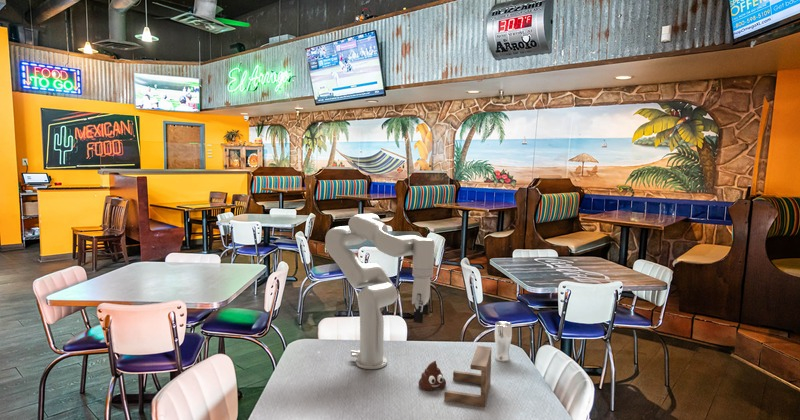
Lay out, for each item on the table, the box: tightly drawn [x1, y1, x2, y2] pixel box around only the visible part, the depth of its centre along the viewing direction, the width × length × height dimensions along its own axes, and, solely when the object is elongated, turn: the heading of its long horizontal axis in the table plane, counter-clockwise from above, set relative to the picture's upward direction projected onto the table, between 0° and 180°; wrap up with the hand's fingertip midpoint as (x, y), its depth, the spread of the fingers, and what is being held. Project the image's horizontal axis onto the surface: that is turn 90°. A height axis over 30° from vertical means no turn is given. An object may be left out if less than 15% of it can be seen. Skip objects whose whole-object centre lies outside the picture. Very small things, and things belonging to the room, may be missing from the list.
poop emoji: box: [418, 360, 447, 392], centre depth 159 cm, size 10×8×9 cm
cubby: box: [443, 345, 492, 408], centre depth 155 cm, size 14×18×14 cm
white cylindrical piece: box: [494, 320, 513, 363], centre depth 184 cm, size 7×7×15 cm
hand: (421, 318), depth 161 cm, fingers open, 9 cm apart
